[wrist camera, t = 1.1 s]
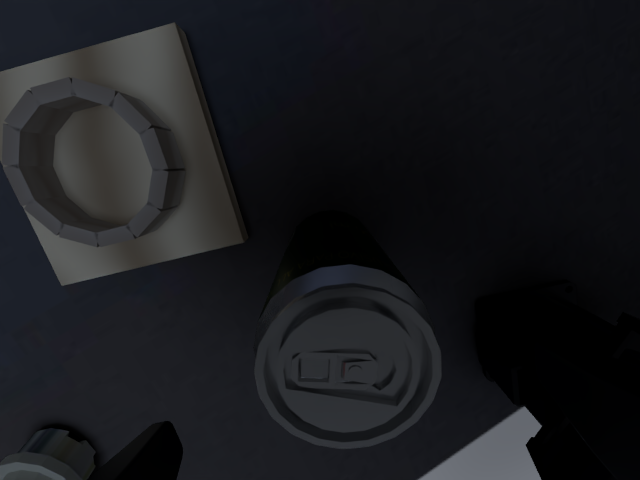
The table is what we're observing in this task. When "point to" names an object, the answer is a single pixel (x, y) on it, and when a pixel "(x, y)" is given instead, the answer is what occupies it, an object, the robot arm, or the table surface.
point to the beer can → (344, 339)
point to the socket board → (117, 156)
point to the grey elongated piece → (50, 458)
